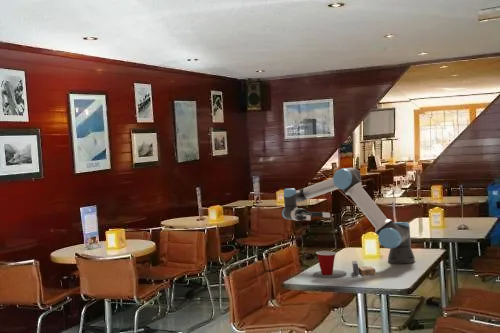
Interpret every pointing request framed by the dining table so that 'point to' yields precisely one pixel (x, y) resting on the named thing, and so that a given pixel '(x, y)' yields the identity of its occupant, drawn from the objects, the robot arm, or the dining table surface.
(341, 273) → the mat
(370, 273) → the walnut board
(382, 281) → the dining table surface
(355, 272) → the bench dog
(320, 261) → the plastic cup
